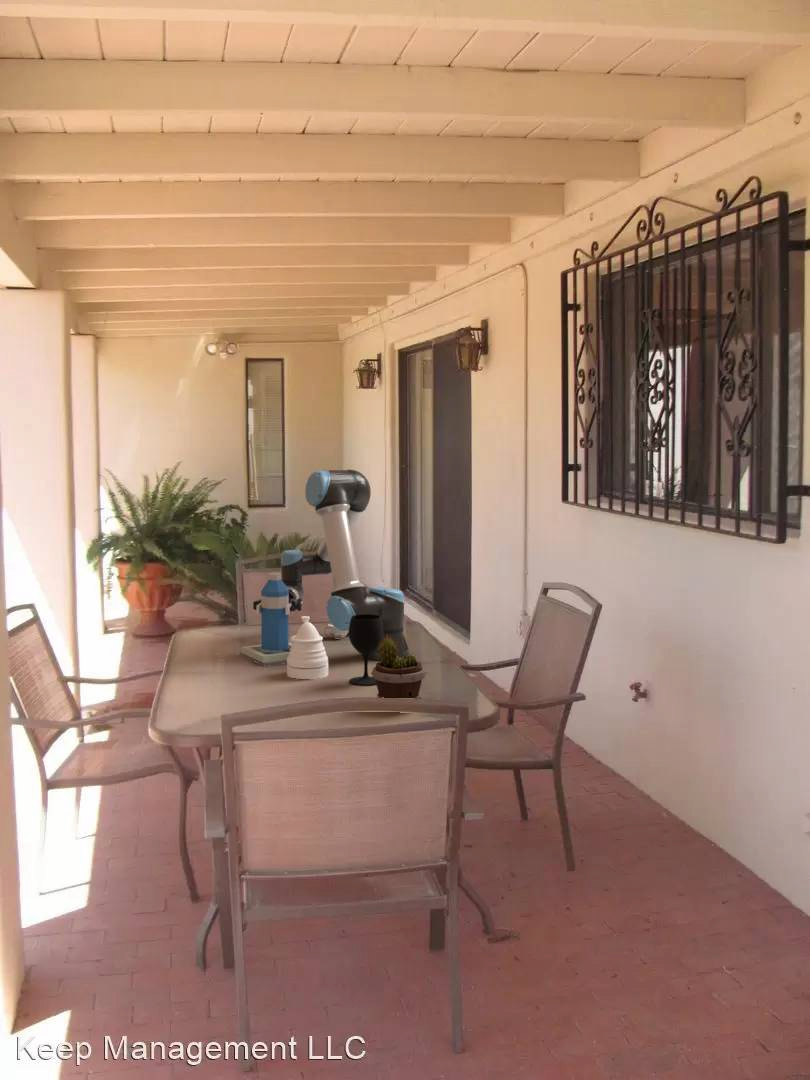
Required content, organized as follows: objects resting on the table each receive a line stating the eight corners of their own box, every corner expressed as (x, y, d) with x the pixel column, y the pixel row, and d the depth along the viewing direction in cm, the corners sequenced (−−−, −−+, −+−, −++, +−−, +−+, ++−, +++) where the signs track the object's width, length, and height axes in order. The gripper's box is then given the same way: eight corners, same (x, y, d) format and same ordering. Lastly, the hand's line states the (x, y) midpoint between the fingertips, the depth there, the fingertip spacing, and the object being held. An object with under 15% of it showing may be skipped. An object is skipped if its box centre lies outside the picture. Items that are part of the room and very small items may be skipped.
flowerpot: (435, 703, 291) (435, 633, 289) (405, 716, 278) (406, 642, 276) (391, 695, 299) (392, 627, 297) (361, 707, 286) (361, 636, 284)
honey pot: (281, 672, 327) (281, 615, 325) (320, 668, 332) (320, 613, 330) (293, 681, 315) (293, 623, 313) (334, 677, 320) (333, 620, 318)
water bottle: (255, 649, 345) (255, 574, 342) (269, 643, 353) (269, 570, 350) (280, 651, 341) (280, 576, 338) (294, 646, 350) (294, 572, 347)
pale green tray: (312, 660, 343) (312, 651, 343) (265, 666, 334) (265, 657, 334) (285, 649, 360) (285, 640, 360) (239, 654, 351) (239, 646, 351)
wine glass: (370, 687, 308) (370, 621, 306) (341, 683, 314) (341, 617, 311) (389, 680, 317) (389, 615, 315) (361, 676, 322) (361, 612, 320)
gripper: (316, 610, 363) (304, 622, 340) (255, 608, 365) (239, 620, 342) (316, 588, 362) (304, 599, 340) (255, 587, 364) (239, 598, 342)
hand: (272, 610), depth 341 cm, fingers closed on water bottle, 9 cm apart
